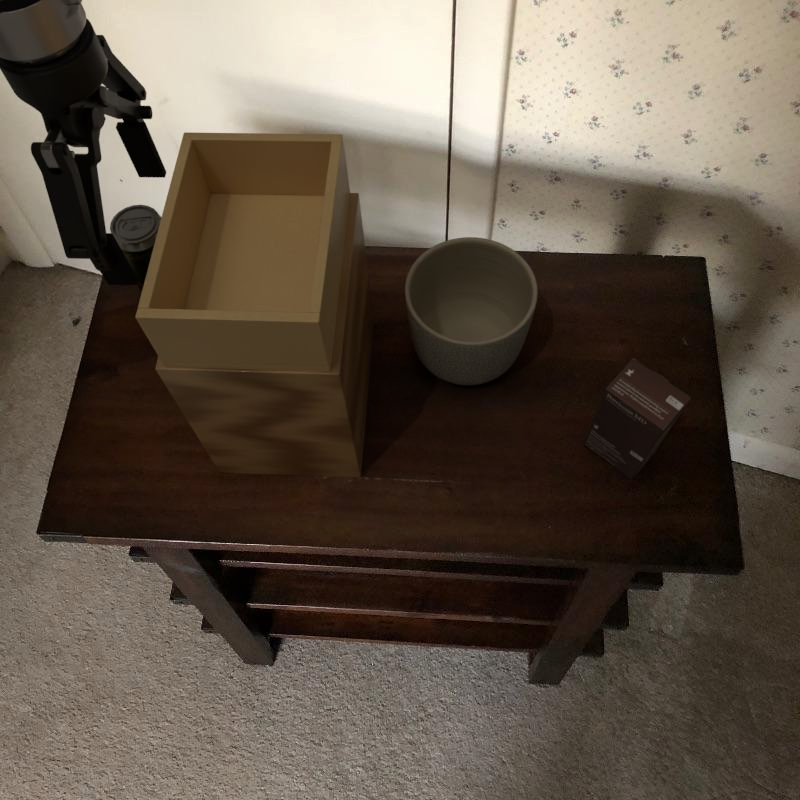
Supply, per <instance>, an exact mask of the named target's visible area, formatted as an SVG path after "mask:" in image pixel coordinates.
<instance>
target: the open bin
mask: <svg viewBox="0 0 800 800" xmlns="http://www.w3.org/2000/svg"><path fill="white" fill-rule="evenodd" d="M348 173H349V172H348V167H347V159H346V149H345V143H344V135H343V133H341V134H339V133H336V134H335V133H333V134H331V133H266V132H265V133H264V132H263V133H261V132H260V133H258V132H257V133H255V132H251V133H250V132H183V135H182V139H181V142H180V145H179V150H178V153H177V157H176V162H175V165H174V168H173V172H172V176H171V179H170V183H169V187H168V188H169V189H168V191H167V195H166V199H165V202H164V207H163V210H162V214H161V217H162V218H161V221H160V225H159V229H158V233H157V237H156V240H155V244H154V248H153V252H152V256H151V259H150V263H149V267H148V271H147V275H146V278H145V282H144V286H143V290H142V293H141V294H140V297H139V302H138V305H137V310H136V313H135V320H136V321H137V323H138V324H139V326H140V328H141V330H142V331H143V333H144V335H145V336H146V338H147V340H148V341H149V343H150V345H151V347H152V348H153V350H154V351H155V353H156V354H157V357H158V356H159V358H160V360H161V361H162V362H163V365H164V367H187V368H220V369H253V370H287V371H320V372H330V369H331V361H332V352H333V343H334V334H335V325H336V317H337V308H338V299H339V290H340V281H341V272H342V264H343V255H344V246H345V237H346V228H347V220H348V211H349V202H350V193H351V189H350V188H351V187H350V181H349V174H348Z"/></svg>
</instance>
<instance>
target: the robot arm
mask: <svg viewBox="0 0 800 800" xmlns="http://www.w3.org/2000/svg"><path fill="white" fill-rule="evenodd" d="M82 2H83V0H0V71H1V73H2V74H3V76H4V78H5V80H6V81H7V83H8V84H9V86H10V88H11V90H12V91H13V93H14V94H15V96H16V97H17V98H18V99H19V100H21V101H22V102H23V103H26V104H27V105H29V106H30V107H32V108H33V109H35V110H36V111H37V112H38V113H40V115H41V117H42V121H43V122H44V127H45V131H46V133H47V135H46V136H45V138H44V141H33V142H31V145H30V153H31V155H32V157H33V159H34V161H35V163H36V165H37V167H38V169H39V171H40V172H41V175H42V178H43V182H44V186H45V189H46V193H47V197H48V199H49V203H50V206H51V210H52V213H53V217H54V220H55V224H56V228H57V230H58V234H59V237H60V241H61V245H62V248H63V251H64V254H65V257H66V258H67V259H72V260H73V259H74V260H75V259H77V260H79V259H80V260H81V259H82V260H83V259H84V260H90V262H91V263H92V265H93V267H94V268H95V270H97V271H98V272H100V274H101V275H102V278H103V279H104V280H105V282H106V283H107V285H108V286H137V281H138V278H137V276H136V274H135V273H134V271H133V269H132V267H131V266H130V264H129V262H128V260H127V258H126V257H125V255H124V253H123V251H122V250H121V248H120V246H119V244H118V243H117V241H116V239H115V237H114V236H113V234H112V233H111V232H107V229H106V228H107V227H106V220H105V213H104V206H103V199H102V194H101V192H102V191H101V186H100V185H101V184H100V179H99V170H98V164H99V163H101V162H102V150H101V144H100V137H101V136H100V135H101V130H102V128H103V127H104V125H105V122H106V116H108V117H112V118H114V119H116V120H122V121H117V123H116V126H115V129H116V131H117V133H118V135H119V139H121V142H122V144H123V146H124V149H125V151H126V152H127V154H128V156H129V159H130V161H131V163H132V165H133V167H134V169H135V172H136V173H137V176H138V178H163V179H165V178H166V175H167V170H166V168H165V165H164V163H163V160H162V159H161V156H160V154H159V151H158V149H157V147H156V144H155V142H154V140H153V138H152V135H151V132H150V130H149V128H148V126H147V124H146V121H145V120H152V119H153V109H152V106H150V105H142V104H141V102H142V101H146V100H147V91H146V88H145V86H143V84H142V83H141V82H140V81H139V80H138V79H137V78H136V77H135V76H134V75H133V73H132V72H131V71H130V70H128V68H127V67H126V66H125V65H124V64H123V63H122V62H121V61H120V59H119V58H118V57H117V56H116V55H115V54H114V53H113V51H112V49H111V47H110V44H109V42H108V41H107V39H106V37H105V36H104V35H103V34H97V33H96V31H95V29H94V27H93V24H92V23H91V21H90V20H89V19H88V18H87V13H86V10H85V9H84V6H83V3H82ZM69 146H70V147H71V148H87V153H75V151H74V150H71V149H70V148H69Z"/></svg>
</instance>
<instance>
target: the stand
mask: <svg viewBox="0 0 800 800" xmlns="http://www.w3.org/2000/svg"><path fill="white" fill-rule="evenodd" d="M360 200H361V199H360V193H359V192H350V202H349V211H348V220H347V228H346V237H345V246H344V255H343V264H342V272H341V281H340V290H339V299H338V308H337V317H336V325H335V334H334V343H333V352H332V361H331V369H330V372H320V371H287V370H253V369H220V368H187V367H164V365H163V362H162V361H161V360H160V358H159V356H158V355H157V360H156V364H155V369H154V370H155V371H156V373H157V375H158V376H159V378H160V379H161V381H162V383H163V384H164V386H165V387H166V389H167V391H168V392H169V394H170V395H171V397H172V398H173V400H174V402H175V404H176V405H177V406H178V408H179V410H180V411H181V413H182V415H183V416H184V418H185V419H186V421H187V423H188V425H189V426H190V427H191V429H192V431H193V432H194V434H195V436H196V437H197V439H198V440H199V442H200V444H201V446H202V447H203V448H204V450H205V452H206V454H207V455H208V457H209V458H210V460H211V462H212V464H213V465H214V467H215V468H216V470H217V471H218V472H219V473H224V474H246V475H248V474H249V475H252V474H253V475H276V476H299V477H301V476H303V477H326V478H327V477H329V478H330V477H331V478H354V479H356V478H357V479H361V478H362V470H363V469H362V468H363V456H364V447H365V446H364V444H365V435H366V434H365V433H366V420H367V410H368V400H369V399H368V398H369V389H370V387H369V386H370V377H371V376H370V374H371V365H372V364H371V362H372V351H373V341H374V340H373V339H374V329H375V328H374V327H375V321H374V312H373V303H372V296H371V287H370V278H369V269H368V262H367V253H366V245H365V235H364V227H363V226H364V225H363V218H362V208H361V201H360Z"/></svg>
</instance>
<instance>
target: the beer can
mask: <svg viewBox="0 0 800 800" xmlns="http://www.w3.org/2000/svg"><path fill="white" fill-rule="evenodd" d="M161 218H162V215H160V214H159V212H158V211H157V210H156V209H155V208H154V207H151V206H149V205H146V204H132V205H130V206H127V207H124V208H123V209H121V210H119V211H118V212H117V213H116V214H115V215H114V216H113V217H112V220H111V221H110V224H109V231H110V233H112V234H113V236H114V237H115V239H116V241H117V243H118V244H119V246H120V248H121V250H122V251H123V253H124V255H125V257H126V258H127V260H128V262H129V264H130V266H131V267H132V269H133V271H134V273H135V274H136V276H137V278H138V281H137V284H136V286H137V288H138V290H139V291H140V293H141V294H142V290H143V286H144V282H145V278H146V275H147V271H148V267H149V263H150V259H151V256H152V252H153V248H154V244H155V240H156V237H157V233H158V229H159V225H160V221H161Z"/></svg>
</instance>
